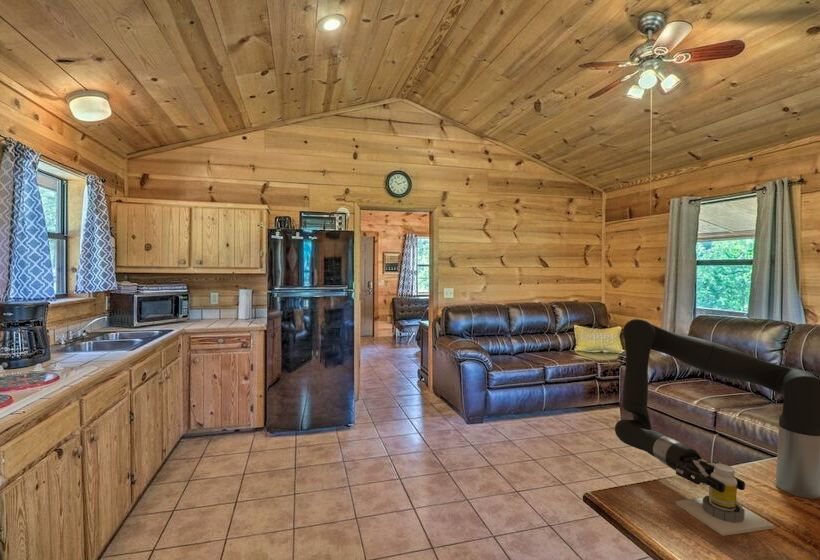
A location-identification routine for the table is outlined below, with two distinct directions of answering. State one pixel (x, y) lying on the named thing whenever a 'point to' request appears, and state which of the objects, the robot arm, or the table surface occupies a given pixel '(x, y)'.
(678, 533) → the table surface
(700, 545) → the table surface
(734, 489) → the supplement bottle
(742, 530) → the socket plate
